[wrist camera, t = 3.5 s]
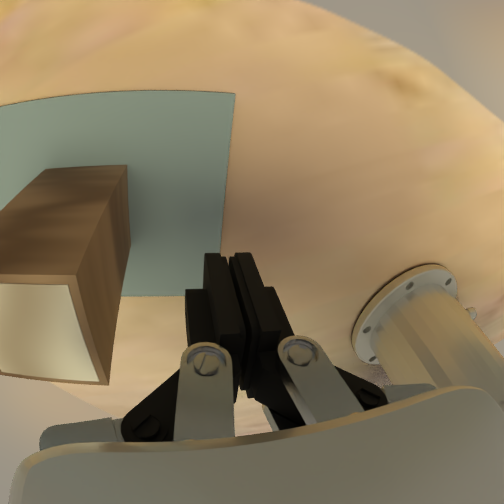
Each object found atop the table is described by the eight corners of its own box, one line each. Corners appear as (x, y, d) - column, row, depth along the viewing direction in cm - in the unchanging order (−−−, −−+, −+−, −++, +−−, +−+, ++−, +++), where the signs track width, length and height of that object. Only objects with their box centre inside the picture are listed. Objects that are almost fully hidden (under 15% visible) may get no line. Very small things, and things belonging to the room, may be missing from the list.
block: (127, 164, 16) (75, 276, 7) (131, 245, 18) (108, 386, 10) (45, 168, 14) (-54, 273, 6) (56, 245, 17) (-1, 375, 9)
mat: (233, 93, 15) (235, 93, 15) (215, 289, 22) (216, 295, 22) (-72, 126, 10) (-77, 129, 10) (-35, 286, 17) (-38, 291, 17)
